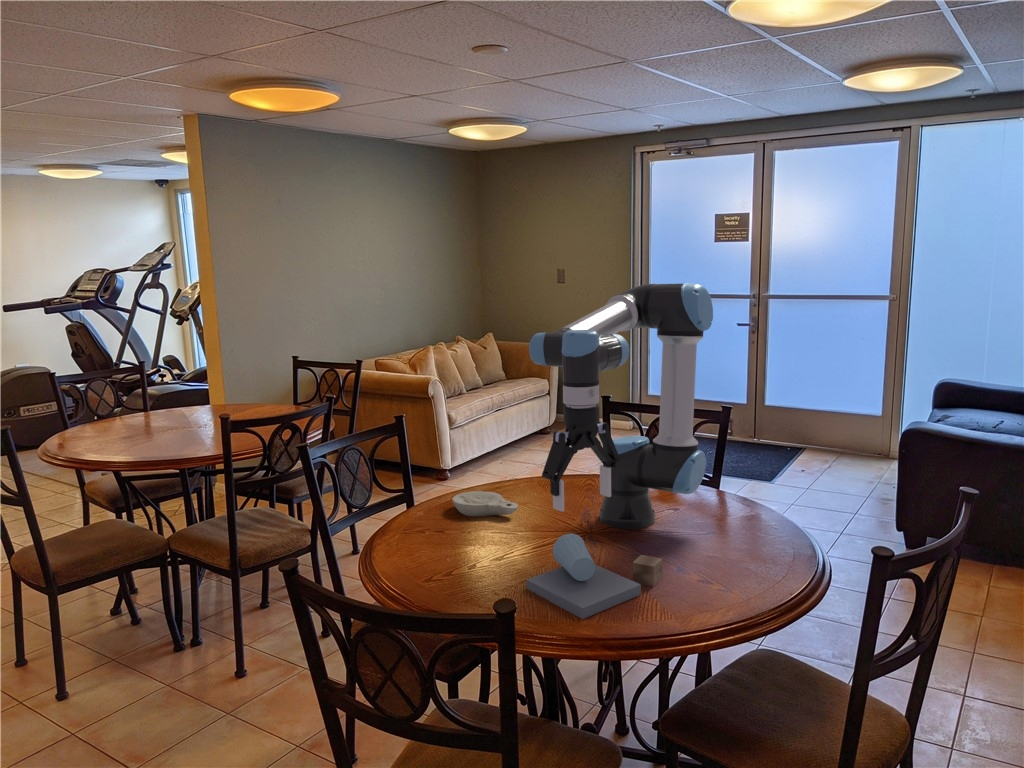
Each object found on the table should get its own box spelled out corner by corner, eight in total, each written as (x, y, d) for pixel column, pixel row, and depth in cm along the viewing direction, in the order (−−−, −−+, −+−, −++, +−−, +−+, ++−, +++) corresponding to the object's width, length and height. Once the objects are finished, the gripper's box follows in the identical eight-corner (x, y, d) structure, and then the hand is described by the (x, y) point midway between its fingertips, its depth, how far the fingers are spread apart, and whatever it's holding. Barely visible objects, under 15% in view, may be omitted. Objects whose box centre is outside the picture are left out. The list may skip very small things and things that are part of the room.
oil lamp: (531, 514, 212) (531, 497, 211) (503, 529, 200) (503, 511, 199) (472, 502, 223) (472, 486, 222) (442, 516, 211) (442, 499, 211)
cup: (561, 583, 158) (548, 562, 168) (594, 588, 160) (579, 566, 170) (571, 551, 156) (557, 531, 166) (603, 556, 158) (588, 536, 168)
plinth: (526, 590, 162) (526, 579, 162) (583, 569, 172) (583, 559, 172) (582, 620, 148) (582, 608, 148) (640, 595, 158) (640, 584, 158)
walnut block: (632, 583, 165) (632, 562, 164) (641, 575, 169) (641, 554, 168) (653, 588, 162) (654, 566, 161) (662, 579, 166) (662, 558, 165)
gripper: (547, 416, 143) (549, 520, 147) (636, 398, 158) (636, 493, 162) (523, 411, 149) (526, 511, 153) (610, 394, 164) (611, 486, 168)
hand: (582, 502), depth 157 cm, fingers open, 13 cm apart
